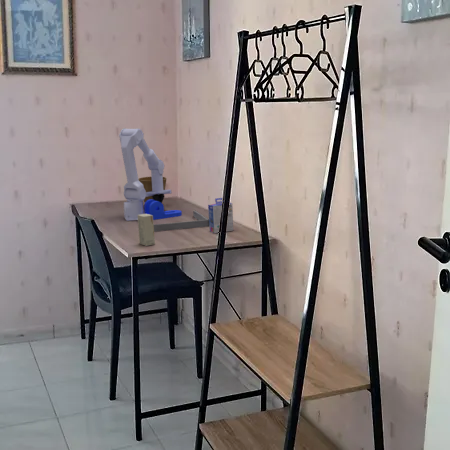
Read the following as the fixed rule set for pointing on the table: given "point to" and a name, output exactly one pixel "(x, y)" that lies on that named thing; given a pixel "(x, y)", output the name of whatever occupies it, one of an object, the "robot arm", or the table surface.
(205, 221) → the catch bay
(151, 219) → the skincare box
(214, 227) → the ink cartridge box
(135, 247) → the table surface
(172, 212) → the bracket
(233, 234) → the table surface
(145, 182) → the plant pot
